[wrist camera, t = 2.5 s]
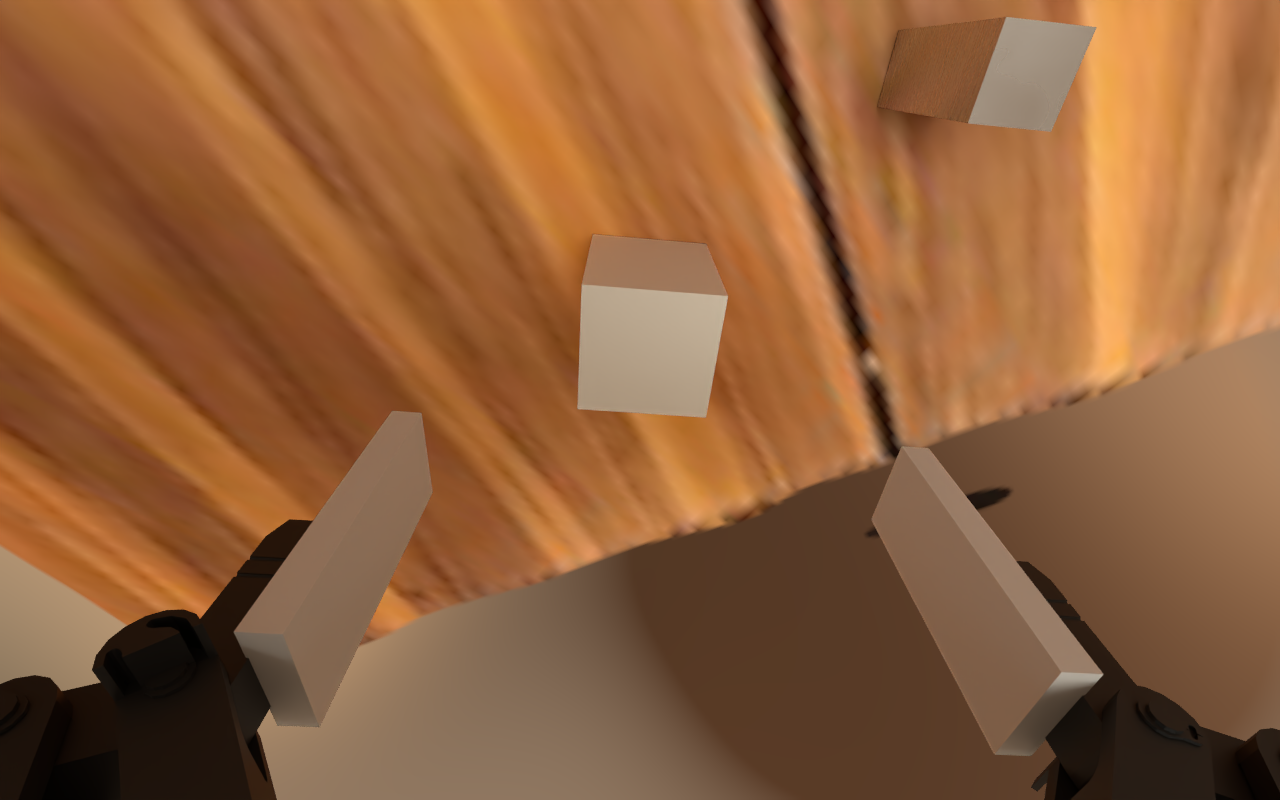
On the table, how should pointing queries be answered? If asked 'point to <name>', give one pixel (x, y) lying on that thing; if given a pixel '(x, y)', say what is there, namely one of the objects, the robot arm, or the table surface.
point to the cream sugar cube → (649, 326)
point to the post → (986, 71)
